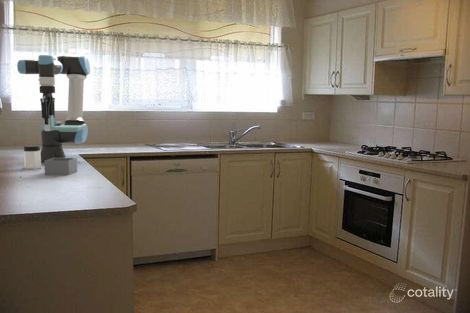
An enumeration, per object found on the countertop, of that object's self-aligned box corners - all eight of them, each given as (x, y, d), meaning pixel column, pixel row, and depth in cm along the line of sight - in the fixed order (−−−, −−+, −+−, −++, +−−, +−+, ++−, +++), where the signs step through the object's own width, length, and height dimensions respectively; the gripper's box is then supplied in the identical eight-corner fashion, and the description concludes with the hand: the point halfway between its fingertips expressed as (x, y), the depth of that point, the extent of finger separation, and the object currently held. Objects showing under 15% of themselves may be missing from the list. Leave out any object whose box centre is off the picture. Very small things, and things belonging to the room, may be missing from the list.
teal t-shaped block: (49, 129, 268) (48, 114, 267) (86, 130, 267) (85, 115, 266) (39, 131, 255) (38, 116, 254) (77, 132, 254) (77, 116, 253)
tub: (54, 171, 259) (53, 157, 258) (77, 171, 259) (76, 158, 258) (44, 174, 247) (44, 160, 246) (68, 174, 247) (68, 160, 246)
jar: (43, 166, 275) (42, 145, 273) (39, 168, 267) (38, 146, 265) (26, 166, 274) (25, 145, 272) (21, 169, 266) (20, 146, 264)
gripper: (46, 85, 266) (48, 129, 270) (33, 85, 250) (35, 131, 253) (60, 85, 266) (62, 129, 269) (47, 85, 250) (49, 132, 253)
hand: (49, 130), depth 261 cm, fingers closed on teal t-shaped block, 3 cm apart
